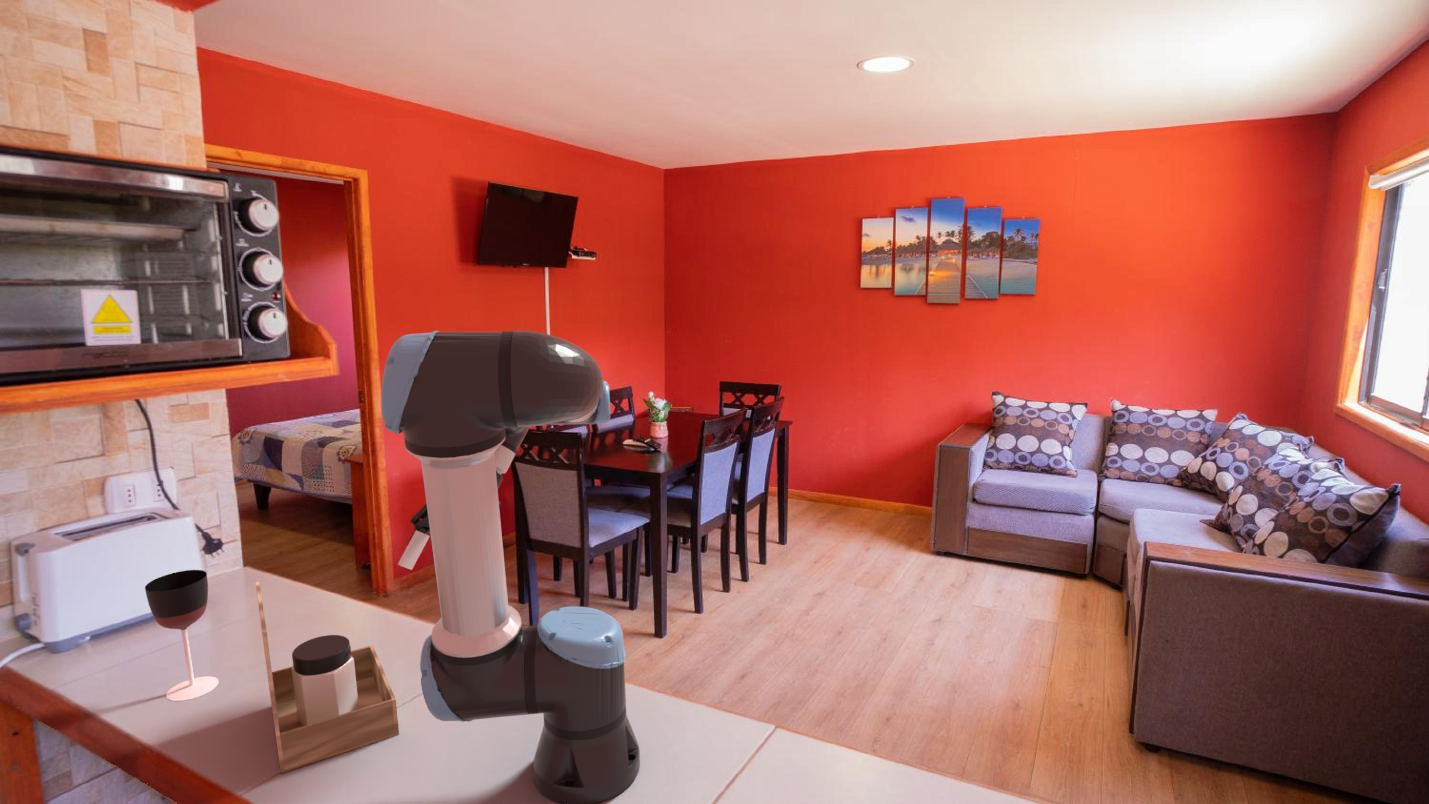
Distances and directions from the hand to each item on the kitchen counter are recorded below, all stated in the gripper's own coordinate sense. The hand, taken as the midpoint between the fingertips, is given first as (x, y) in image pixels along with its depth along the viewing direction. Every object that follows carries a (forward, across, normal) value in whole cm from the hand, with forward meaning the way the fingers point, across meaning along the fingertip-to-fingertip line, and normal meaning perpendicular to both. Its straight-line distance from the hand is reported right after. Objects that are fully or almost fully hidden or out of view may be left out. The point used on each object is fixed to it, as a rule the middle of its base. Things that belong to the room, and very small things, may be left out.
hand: (426, 578), depth 126 cm
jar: (+25, +3, +2) cm, 25 cm away
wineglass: (+32, +31, +9) cm, 46 cm away
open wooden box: (+25, +2, +2) cm, 25 cm away
